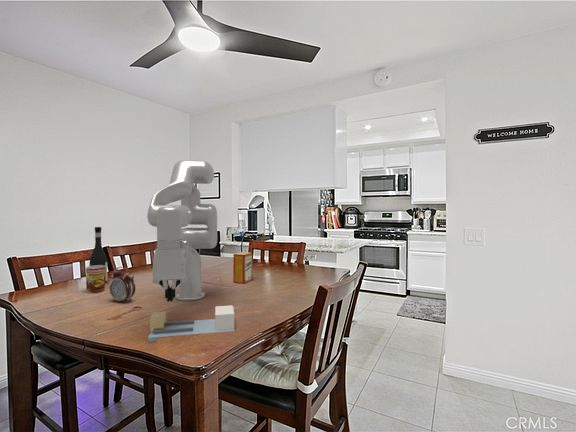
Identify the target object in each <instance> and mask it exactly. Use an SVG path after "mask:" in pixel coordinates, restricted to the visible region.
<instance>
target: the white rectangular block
mask: <svg viewBox="0 0 576 432" xmlns="http://www.w3.org/2000/svg"><path fill="white" fill-rule="evenodd" d="M214 309H215V313H214V314H215V317H214V319H215V330H228V329H234V330H235V311H234V305H219V306H218V305H217V306H215V308H214Z"/></svg>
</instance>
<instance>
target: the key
mask: <svg viewBox="0 0 576 432" xmlns="http://www.w3.org/2000/svg"><path fill="white" fill-rule="evenodd" d="M141 310H143V307H141V306H134V307H133V308H132V309H130V310H127V311H126V312H122V313H120V314H118V315H115V316H112V317H110V318H107V320H108V321H117V320H120V319H123V318H124V316H123V315H126V314H129V313H132V312H134V311H141Z"/></svg>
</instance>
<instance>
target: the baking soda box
mask: <svg viewBox="0 0 576 432" xmlns="http://www.w3.org/2000/svg"><path fill="white" fill-rule="evenodd" d="M253 259H254V257H253V252H247V251H241V252H235V253H233V259H232V260H233V266H232V267H233V271H232V272H233V280H232V281H233V284H241V285H245V284H248V283H250V282H251V281H253Z"/></svg>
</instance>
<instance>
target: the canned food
mask: <svg viewBox="0 0 576 432" xmlns="http://www.w3.org/2000/svg"><path fill="white" fill-rule="evenodd" d="M85 276H86V278H85V282H86V283H85V285H86V286H85V287H86V288H85V289H86V291H85V292H86V294H92V295H93V294H94V295H95V294H101V293H103V292H105V291H106V283H105V266H104V265H94V266H90V265H88V266H86V267H85Z"/></svg>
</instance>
